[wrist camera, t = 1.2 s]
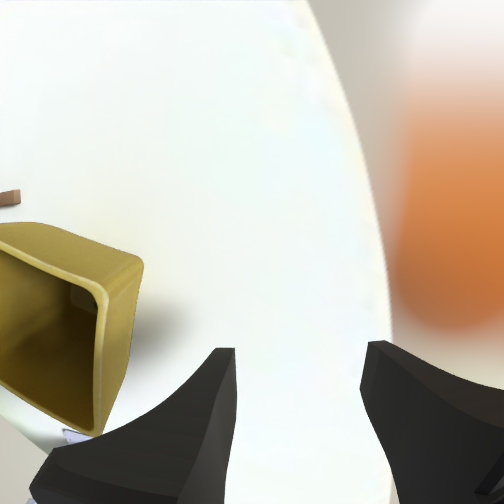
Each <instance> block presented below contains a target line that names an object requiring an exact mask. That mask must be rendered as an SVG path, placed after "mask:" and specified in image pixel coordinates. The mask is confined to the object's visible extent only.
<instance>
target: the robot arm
mask: <svg viewBox="0 0 504 504" xmlns="http://www.w3.org/2000/svg"><path fill="white" fill-rule="evenodd" d="M360 392H361V396H362V399H363V403H364V406H365V410H366V412H367V415H368V417H369V419H370V421H371V423H372V426H373V428H374V430H375V432H376V434H377V437H378V439H379V441H380V443H381V445H382V448H383V450H384V452H385V454H386V457H387V459H388V462H389V464H390V467H391V471H392V474H393V478H394V482H395V485H396V489H397V494H398V498H399V503H400V504H504V390H501V389H497V388H493V387H488V386H484V385H481V384H477V383H474V382H471V381H468V380H465V379H462V378H460V377H457V376H455V375H452V374H450V373H448V372H445V371H444V370H441V369H439V368H437V367H435V366H433V365H431V364H429V363H427V362H425V361H423V360H421V359H420V358H417V357H416V356H414V355H412V354H410V353H409V352H407V351H405V350H403V349H401V348H399V347H398V346H396V345H394V344H392V343H389V342H387V341H385V340H382V341H372V342H368V347H367V352H366V358H365V364H364V369H363V374H362V379H361V384H360ZM236 409H237V384H236V364H235V348H215V349H214V350H213V351H212V353H211V354H210V355H209V356H208V358H207V359H206V360H205V361H204V362H203V364H202V365H201V366H200V367H199V368H198V369H197V370H196V371H195V372H194V374H193V375H192V376H191V377H190V378H189V379H188V380H187V381H186V382H185V383H184V384H183V385H182V386H180V387H179V388H178V389H177V390H176V391H175V392H174V393H173V394H172V395H171V396H169V397H168V398H167V399H166V400H164V401H163V402H162V403H160V404H159V405H158V406H156V407H155V408H153V409H152V410H150V411H149V412H147V413H145V414H144V415H142V416H140V417H138V418H137V419H135V420H133V421H131V422H129V423H127V424H126V425H124V426H122V427H119V428H117V429H115V430H113V431H110V432H108V433H105V434H103V435H100V436H97V437H95V438H94V437H90V436H86V435H82V434H78V433H75V432H71V431H68V430H65V431H64V433H63V434H64V436H65V438H66V440H67V442H68V443H69V445H67V446H63V447H58V448H54V449H53V450H52V452H51V453H50V454H49V456H48V457H47V459H46V460H45V462H44V464H43V465H42V466H41V468H40V470H39V471H38V473H37V474H36V476H35V478H34V479H33V481H32V483H31V484H30V487H29V490H30V492H31V495H32V497H33V498H30V499H29V500H28V502H27V503H26V504H224V497H225V481H226V473H227V467H228V462H229V456H230V451H231V445H232V440H233V434H234V428H235V422H236Z"/></svg>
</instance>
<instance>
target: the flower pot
mask: <svg viewBox="0 0 504 504" xmlns="http://www.w3.org/2000/svg"><path fill="white" fill-rule="evenodd" d="M143 269H144V263H143V261H142V259H141V258H140V257H138V256H136V255H133V254H130V253H127V252H124V251H120V250H118V249H115V248H112V247H109V246H106V245H103V244H101V243H98V242H95V241H92V240H89V239H87V238H84V237H81V236H79V235H76V234H73V233H71V232H68V231H66V230H63V229H60V228H58V227H54V226H51V225H47V224H43V223H36V222H14V223H0V385H2V386H3V387H5V388H6V389H7V390H9V391H10V392H12V393H13V394H15V395H16V396H18V397H19V398H21V399H22V400H24V401H25V402H27V403H29V404H30V405H32V406H33V407H35V408H37V409H39V410H40V411H42V412H44V413H45V414H47V415H49V416H51V417H52V418H54V419H56V420H58V421H60V422H62V423H63V424H65V425H67V426H69V427H71V428H73V429H75V430H77V431H79V432H81V433H84V434H86V435H89V436H91V437H94V438H95V437H97V436H100V435H102V433H103V430H104V427H105V425H106V422H107V420H108V417H109V415H110V412H111V410H112V407H113V405H114V402H115V400H116V397H117V395H118V392H119V390H120V387H121V385H122V382H123V380H124V377H125V374H126V369H127V365H128V360H129V353H130V344H131V336H132V329H133V322H134V316H135V310H136V304H137V298H138V293H139V288H140V283H141V279H142V275H143ZM96 303H97V305H98V307H97V306H96Z"/></svg>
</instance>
